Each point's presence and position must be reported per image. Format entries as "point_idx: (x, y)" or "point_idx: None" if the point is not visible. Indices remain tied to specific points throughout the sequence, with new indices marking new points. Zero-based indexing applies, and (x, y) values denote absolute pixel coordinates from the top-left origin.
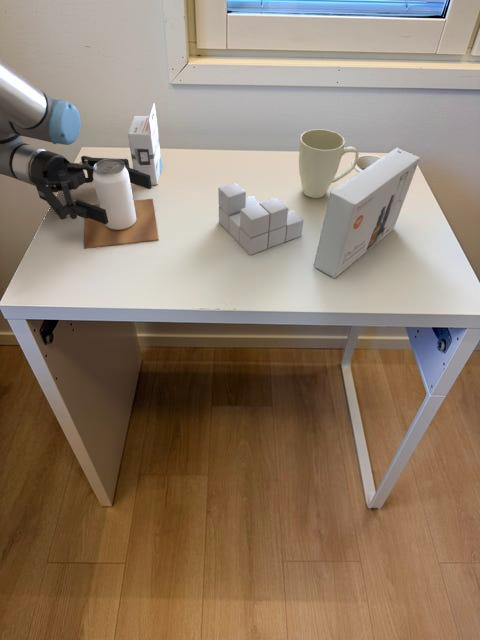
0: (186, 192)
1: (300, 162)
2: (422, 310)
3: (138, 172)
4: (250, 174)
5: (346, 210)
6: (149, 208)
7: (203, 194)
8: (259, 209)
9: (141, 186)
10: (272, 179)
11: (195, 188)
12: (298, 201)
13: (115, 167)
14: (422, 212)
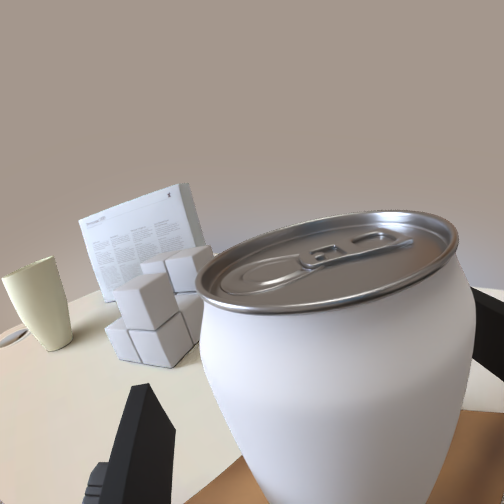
0: (81, 471)
1: (43, 298)
2: (213, 253)
3: (125, 430)
4: (13, 406)
5: (189, 192)
6: (209, 501)
7: (82, 438)
8: (179, 253)
9: (172, 463)
10: (28, 381)
11: (61, 461)
12: (81, 343)
13: (288, 254)
14: (88, 297)
